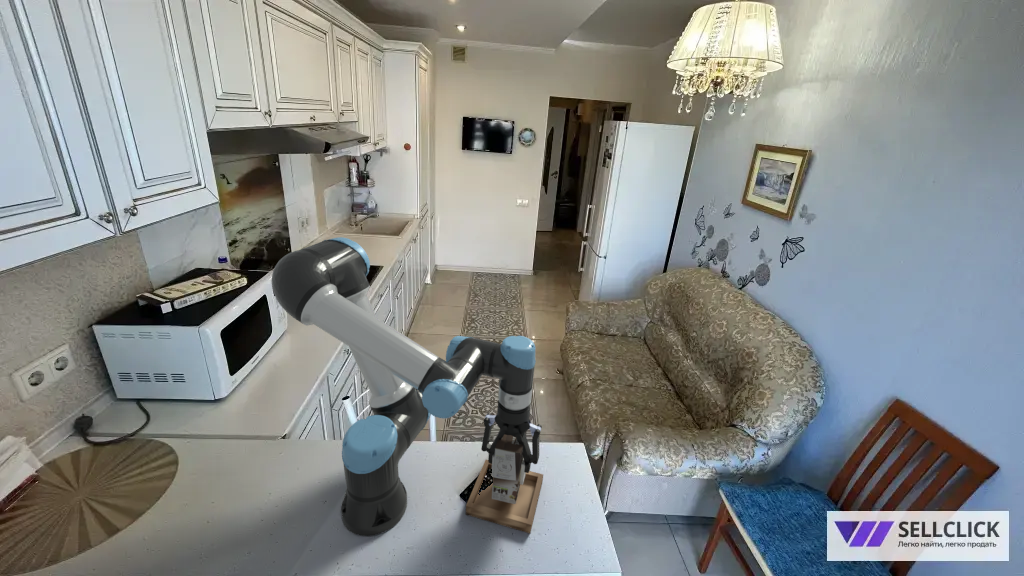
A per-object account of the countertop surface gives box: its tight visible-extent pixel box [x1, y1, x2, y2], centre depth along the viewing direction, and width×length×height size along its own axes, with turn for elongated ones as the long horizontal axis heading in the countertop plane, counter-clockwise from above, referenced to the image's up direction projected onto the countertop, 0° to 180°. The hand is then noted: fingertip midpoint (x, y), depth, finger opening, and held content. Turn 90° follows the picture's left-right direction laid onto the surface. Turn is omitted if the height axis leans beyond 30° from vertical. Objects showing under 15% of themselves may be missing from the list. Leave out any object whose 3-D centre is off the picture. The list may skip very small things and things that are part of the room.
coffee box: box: [492, 430, 528, 504], centre depth 100 cm, size 9×6×16 cm
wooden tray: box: [465, 459, 544, 534], centre depth 103 cm, size 16×15×3 cm
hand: (508, 476), depth 101 cm, fingers closed on coffee box, 7 cm apart
